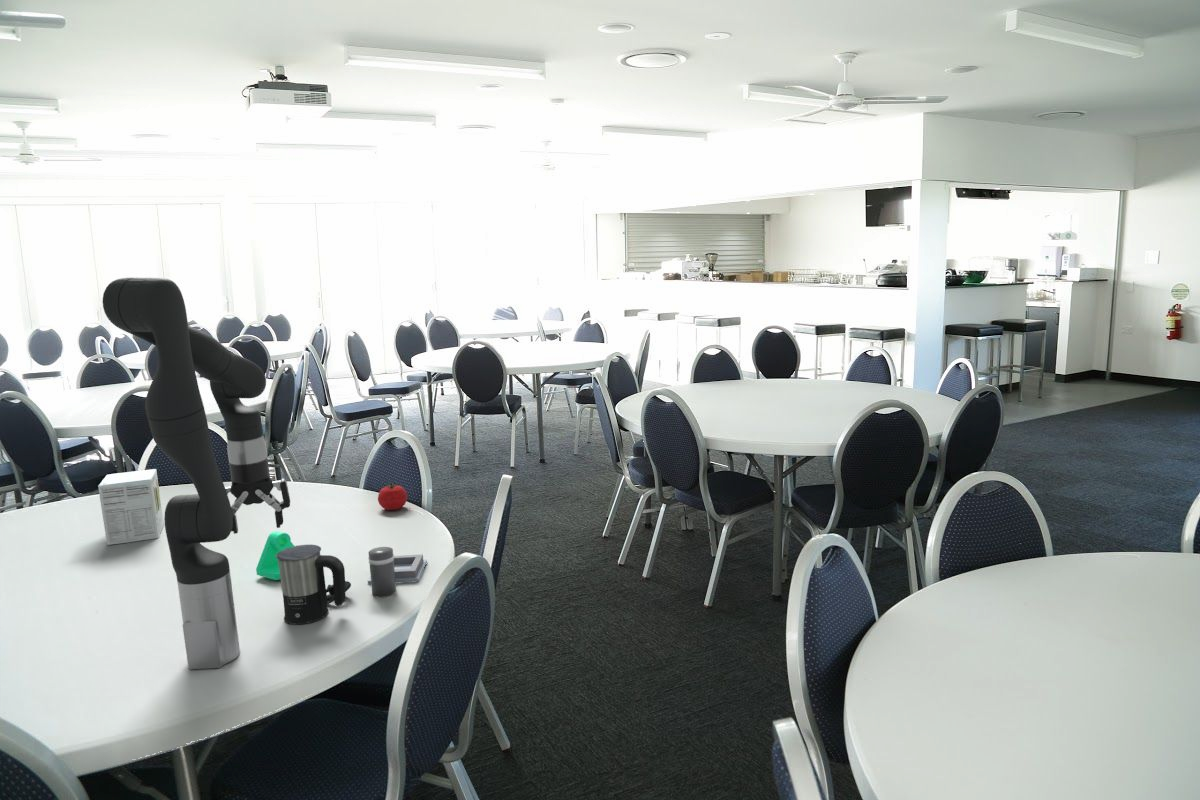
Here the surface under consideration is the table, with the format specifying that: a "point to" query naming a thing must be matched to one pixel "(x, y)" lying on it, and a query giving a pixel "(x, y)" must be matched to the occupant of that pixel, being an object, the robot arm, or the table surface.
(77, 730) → the table surface
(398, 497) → the tomato
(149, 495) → the supplement box
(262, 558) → the camera mount
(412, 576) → the collar plate
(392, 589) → the grey canister
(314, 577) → the milk frother
